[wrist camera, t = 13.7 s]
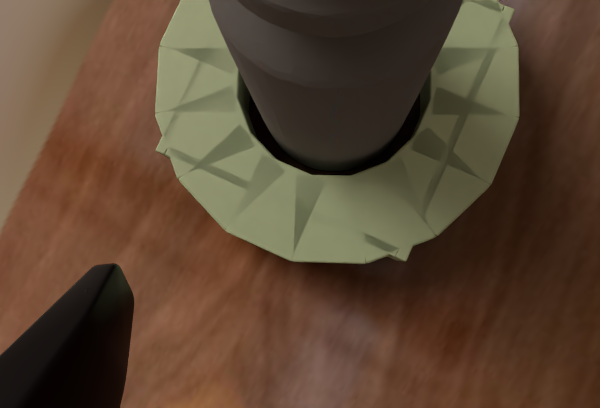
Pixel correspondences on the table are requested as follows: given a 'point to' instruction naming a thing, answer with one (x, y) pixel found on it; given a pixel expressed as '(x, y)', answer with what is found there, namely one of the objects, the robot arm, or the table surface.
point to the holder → (339, 188)
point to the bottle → (334, 69)
